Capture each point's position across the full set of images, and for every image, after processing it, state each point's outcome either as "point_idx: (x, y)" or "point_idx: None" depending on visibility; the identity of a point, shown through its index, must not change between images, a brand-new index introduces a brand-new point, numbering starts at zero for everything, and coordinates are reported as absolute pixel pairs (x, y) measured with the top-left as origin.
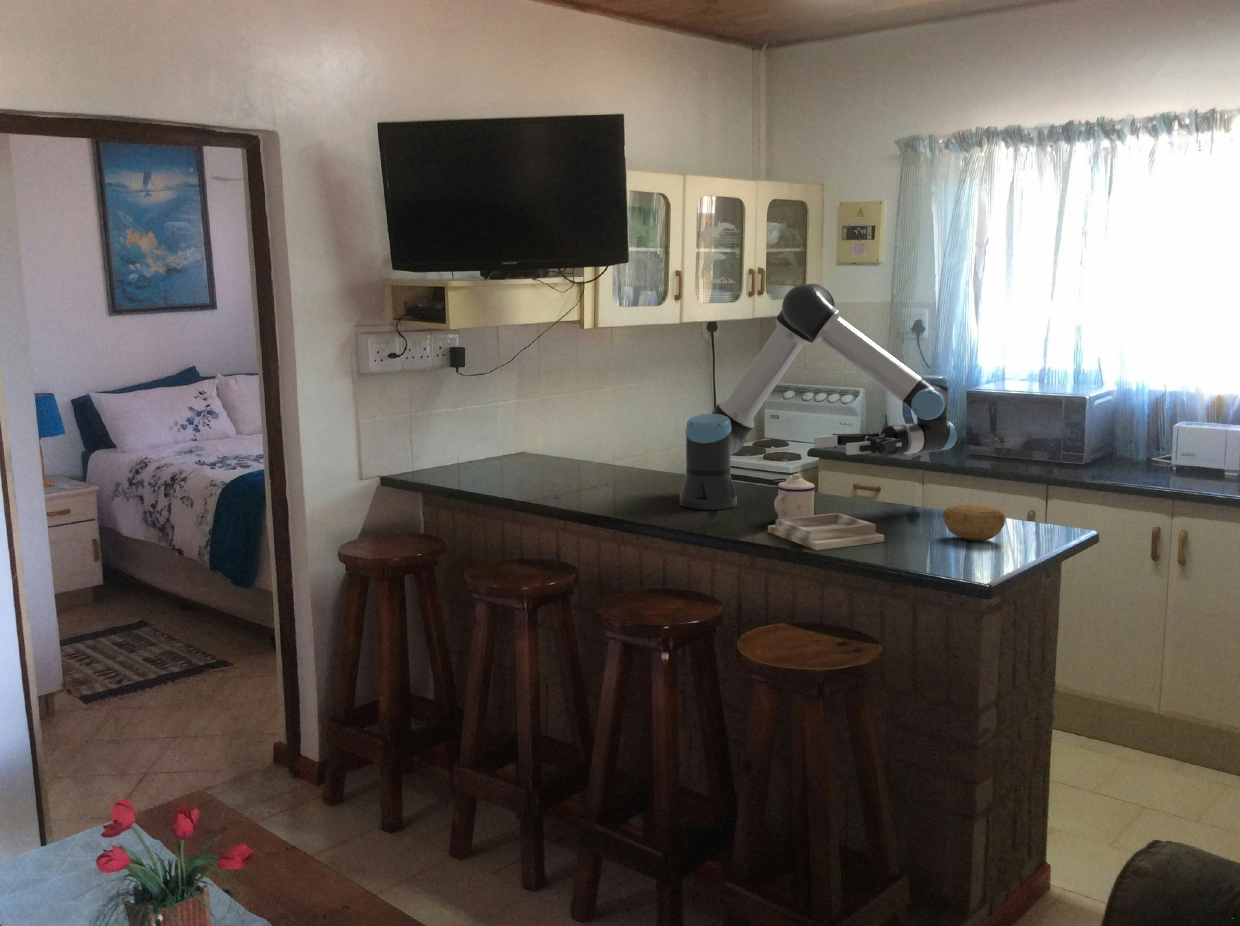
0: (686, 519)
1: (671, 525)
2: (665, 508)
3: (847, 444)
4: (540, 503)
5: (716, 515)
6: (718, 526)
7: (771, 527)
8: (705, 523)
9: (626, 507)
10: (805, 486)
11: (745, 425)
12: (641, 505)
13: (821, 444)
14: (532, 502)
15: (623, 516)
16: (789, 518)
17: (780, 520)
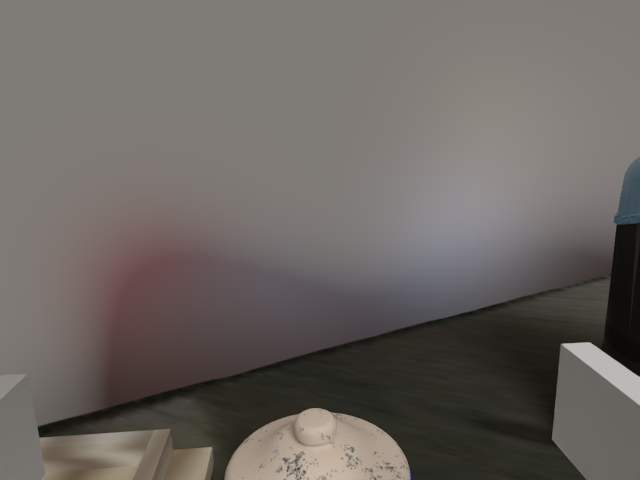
0: (441, 376)
1: (383, 350)
2: None
3: (6, 383)
4: None
5: (486, 430)
6: (340, 401)
7: (191, 449)
8: (384, 391)
9: (591, 334)
10: (233, 468)
11: None
12: None
13: (594, 456)
14: None
15: (489, 321)
16: (152, 460)
17: (149, 433)
